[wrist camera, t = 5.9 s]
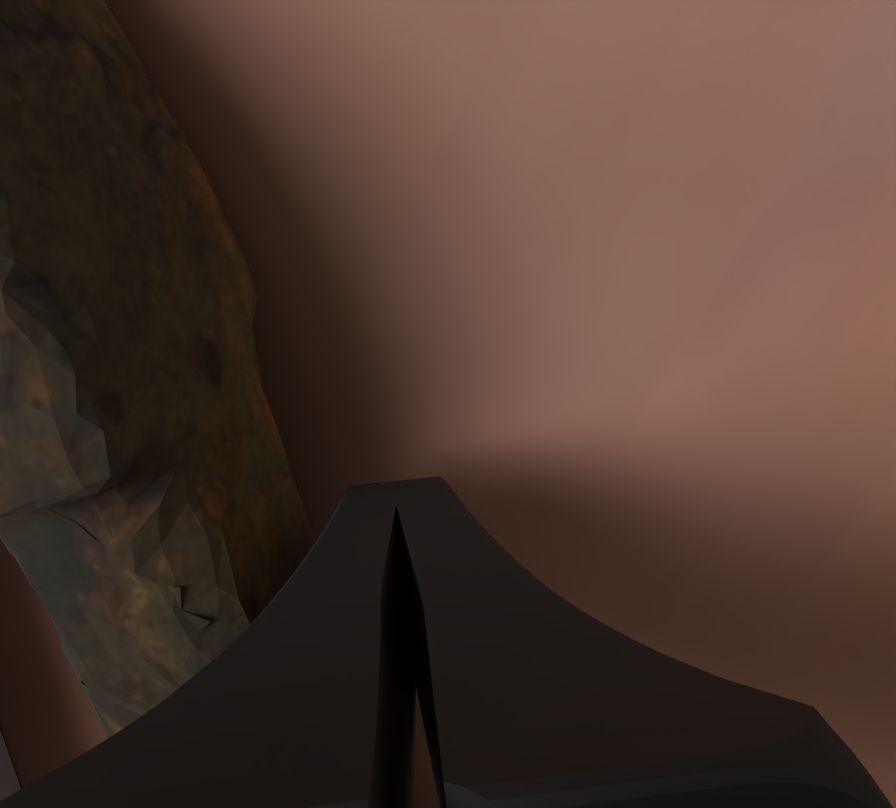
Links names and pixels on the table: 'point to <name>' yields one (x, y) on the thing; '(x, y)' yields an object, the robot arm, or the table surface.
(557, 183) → the table surface
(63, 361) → the brown rough log
